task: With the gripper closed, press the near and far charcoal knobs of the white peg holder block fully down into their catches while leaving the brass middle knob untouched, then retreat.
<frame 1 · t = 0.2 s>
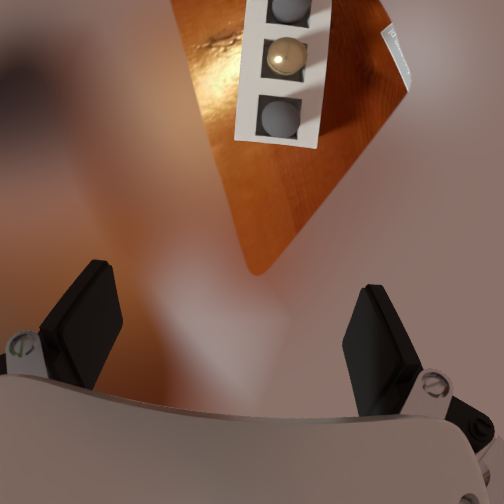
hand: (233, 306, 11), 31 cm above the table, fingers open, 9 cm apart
white peg holder block: (280, 65, 32), on the table
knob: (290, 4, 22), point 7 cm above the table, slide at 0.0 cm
brass knob: (285, 58, 26), point 7 cm above the table, slide at 0.0 cm
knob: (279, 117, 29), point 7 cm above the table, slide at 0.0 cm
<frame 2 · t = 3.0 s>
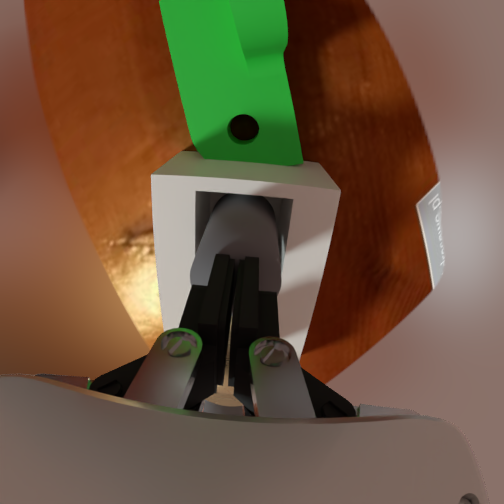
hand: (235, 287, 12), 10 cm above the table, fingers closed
white peg holder block: (239, 278, 23), on the table
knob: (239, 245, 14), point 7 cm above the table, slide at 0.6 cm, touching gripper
mechanical part: (233, 76, 16), on the table, touching white peg holder block
brass knob: (232, 348, 17), point 7 cm above the table, slide at 0.0 cm
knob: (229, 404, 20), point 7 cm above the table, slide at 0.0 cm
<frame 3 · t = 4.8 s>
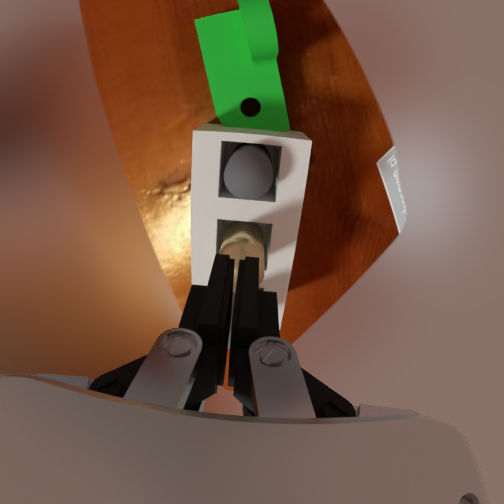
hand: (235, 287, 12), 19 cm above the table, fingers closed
white peg holder block: (245, 218, 31), on the table
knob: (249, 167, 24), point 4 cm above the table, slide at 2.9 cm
mechanical part: (243, 73, 24), on the table, touching white peg holder block
brass knob: (242, 253, 25), point 7 cm above the table, slide at 0.0 cm
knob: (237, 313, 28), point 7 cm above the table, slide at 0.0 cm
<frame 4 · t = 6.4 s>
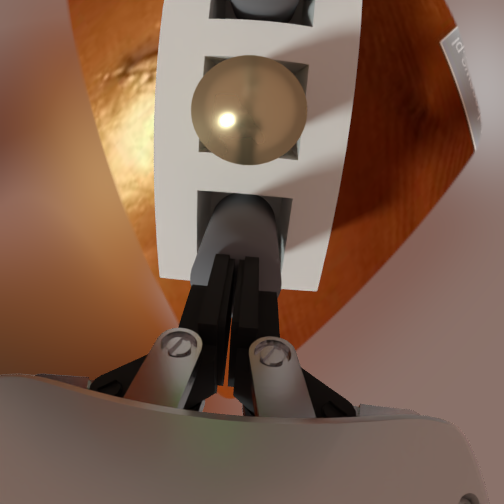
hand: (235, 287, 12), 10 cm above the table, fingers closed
white peg holder block: (254, 103, 18), on the table
brass knob: (251, 107, 11), point 7 cm above the table, slide at 0.0 cm
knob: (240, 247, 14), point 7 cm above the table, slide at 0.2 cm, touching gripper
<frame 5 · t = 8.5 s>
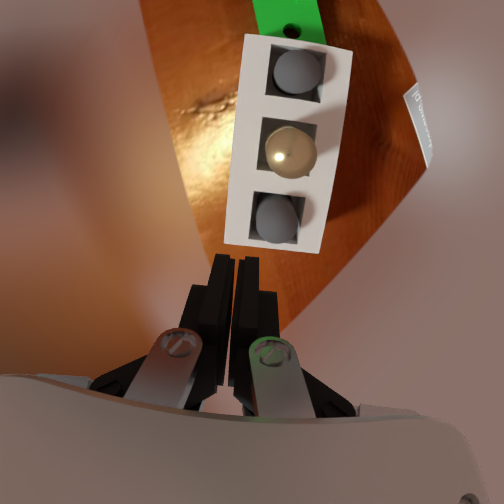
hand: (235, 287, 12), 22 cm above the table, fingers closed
white peg holder block: (281, 139, 29), on the table
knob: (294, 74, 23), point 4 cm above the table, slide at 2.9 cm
mechanical part: (284, 8, 23), on the table, touching white peg holder block
brass knob: (288, 148, 23), point 7 cm above the table, slide at 0.0 cm
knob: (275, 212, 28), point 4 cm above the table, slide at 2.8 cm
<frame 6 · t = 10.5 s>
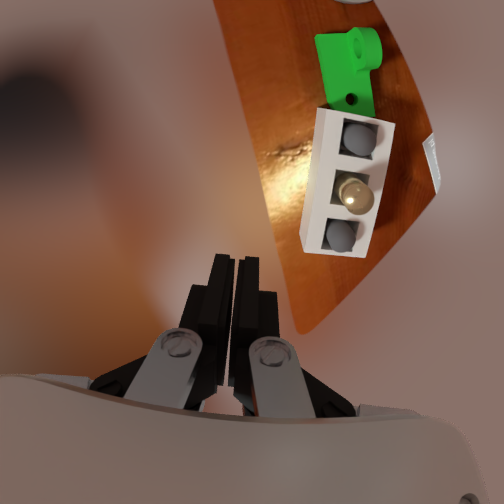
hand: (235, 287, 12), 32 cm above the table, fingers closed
white peg holder block: (338, 177, 41), on the table
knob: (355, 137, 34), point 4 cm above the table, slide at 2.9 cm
mechanical part: (343, 76, 34), on the table, touching white peg holder block
brass knob: (352, 192, 35), point 7 cm above the table, slide at 0.0 cm
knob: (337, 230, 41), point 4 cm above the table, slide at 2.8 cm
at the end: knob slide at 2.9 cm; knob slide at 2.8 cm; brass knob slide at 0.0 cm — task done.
